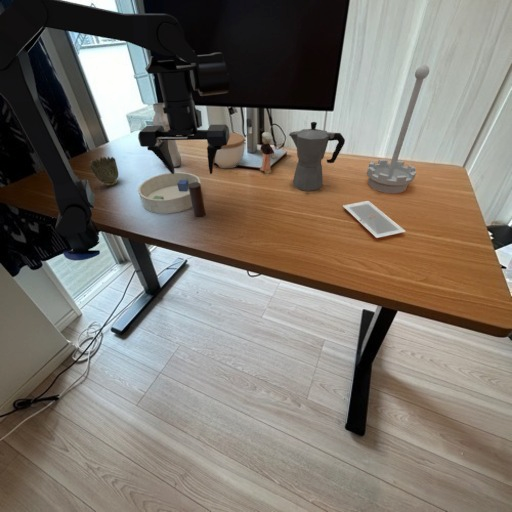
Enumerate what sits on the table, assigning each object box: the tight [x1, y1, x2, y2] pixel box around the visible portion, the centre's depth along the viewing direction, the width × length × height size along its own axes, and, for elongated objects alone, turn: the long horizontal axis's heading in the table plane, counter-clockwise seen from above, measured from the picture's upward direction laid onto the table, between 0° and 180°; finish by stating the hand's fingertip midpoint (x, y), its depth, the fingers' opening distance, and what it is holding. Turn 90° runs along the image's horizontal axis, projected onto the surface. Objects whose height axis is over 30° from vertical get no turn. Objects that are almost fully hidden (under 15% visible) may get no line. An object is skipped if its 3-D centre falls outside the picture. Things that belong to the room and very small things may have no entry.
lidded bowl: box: [206, 132, 245, 169], centre depth 93 cm, size 13×13×11 cm
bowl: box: [137, 171, 204, 215], centre depth 78 cm, size 17×17×4 cm
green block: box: [152, 196, 164, 199], centre depth 74 cm, size 2×2×2 cm
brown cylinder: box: [188, 182, 207, 219], centre depth 69 cm, size 3×3×9 cm
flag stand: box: [366, 64, 430, 194], centre depth 72 cm, size 13×13×30 cm
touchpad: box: [342, 200, 407, 239], centre depth 67 cm, size 8×15×2 cm, turn 16°
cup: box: [88, 156, 119, 188], centre depth 84 cm, size 8×7×8 cm
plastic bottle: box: [152, 102, 182, 168], centre depth 91 cm, size 6×7×20 cm
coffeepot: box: [288, 121, 346, 192], centre depth 77 cm, size 15×9×18 cm, turn 72°
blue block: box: [177, 180, 189, 192], centre depth 82 cm, size 2×2×2 cm
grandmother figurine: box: [259, 131, 276, 175], centre depth 87 cm, size 8×4×13 cm, turn 45°
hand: (192, 173), depth 64 cm, fingers open, 9 cm apart
